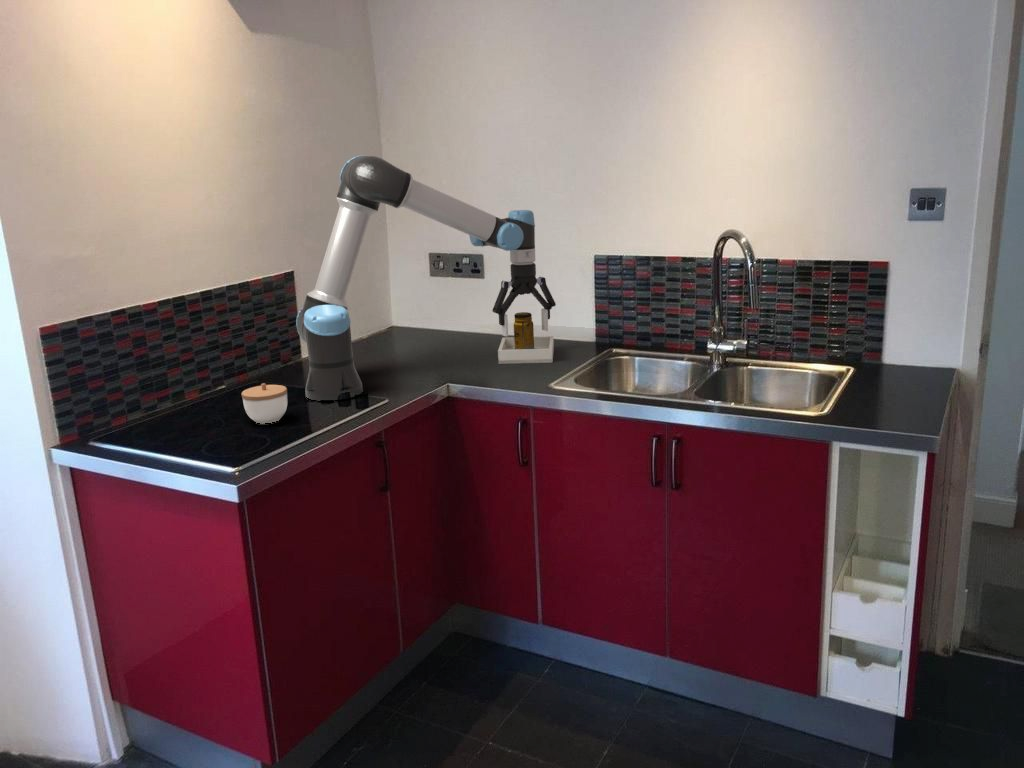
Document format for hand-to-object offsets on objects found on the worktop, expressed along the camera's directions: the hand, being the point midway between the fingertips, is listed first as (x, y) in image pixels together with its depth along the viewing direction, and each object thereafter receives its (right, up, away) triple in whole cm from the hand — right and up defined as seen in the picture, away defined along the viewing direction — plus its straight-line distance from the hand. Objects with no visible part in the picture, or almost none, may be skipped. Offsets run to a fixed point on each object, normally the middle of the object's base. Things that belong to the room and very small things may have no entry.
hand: (525, 333), depth 271 cm
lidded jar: (-64, -25, -51) cm, 86 cm away
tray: (+1, -7, +2) cm, 7 cm away
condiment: (+1, -6, +3) cm, 7 cm away
